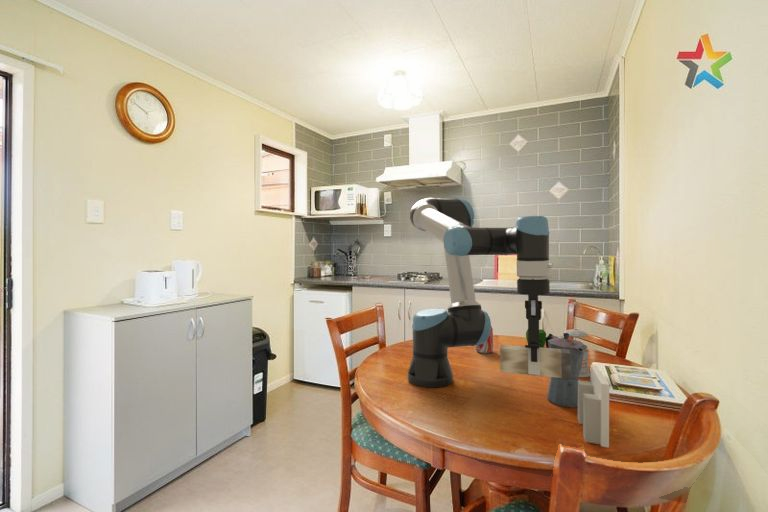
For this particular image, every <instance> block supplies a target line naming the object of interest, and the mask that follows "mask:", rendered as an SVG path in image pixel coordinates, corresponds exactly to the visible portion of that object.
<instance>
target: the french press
mask: <svg viewBox="0 0 768 512" xmlns="http://www.w3.org/2000/svg"><path fill="white" fill-rule="evenodd" d="M579 305H580V304H579V302H577V301H574V302H573V303H572V306H574V307H575V323H574V324H575V328H573V329H566V330H564V331H563V332H562V333H568V334H569V338H570V337H571V338H575V339H574V340H577V338H582V339H584V338H588V337H589V333H587V332H586V331H585V330H582V329H577V307H578V306H579ZM558 338H564V335H563V336H562V335H561V336H560V337H559V336H558ZM584 345H585V350H584V355H583V361H582V367H581V371H579V377H578V378H590V370H589V350H588V349H587V348H588V345H586V344H584Z"/></svg>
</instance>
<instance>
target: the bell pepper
mask: <svg viewBox="0 0 768 512" xmlns="http://www.w3.org/2000/svg"><path fill="white" fill-rule="evenodd" d="M525 337H526V342H527V343H528V329H526V332H525ZM546 337H547V333H546V330H544V329H540V328H539V339H542V343H540V347H541V348H545V346H546V340H545V339H546Z"/></svg>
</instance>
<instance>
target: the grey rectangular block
mask: <svg viewBox="0 0 768 512" xmlns="http://www.w3.org/2000/svg"><path fill="white" fill-rule="evenodd" d="M499 347H500V348H499V355H500V356H499V362H500V364H499V365H500V367H499V369H500V370H499V371H500V373H509V374H517V375H518V374H519V375H529V376H534V375H533V374H528V348H525V345H524V346H522V345H513V344H512V345H511V344H501V346H499ZM536 376H539V377H557V378H567V379H571V354H570V351H569V349H555V348H546V347H543V348H541V347H540V375H536Z"/></svg>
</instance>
